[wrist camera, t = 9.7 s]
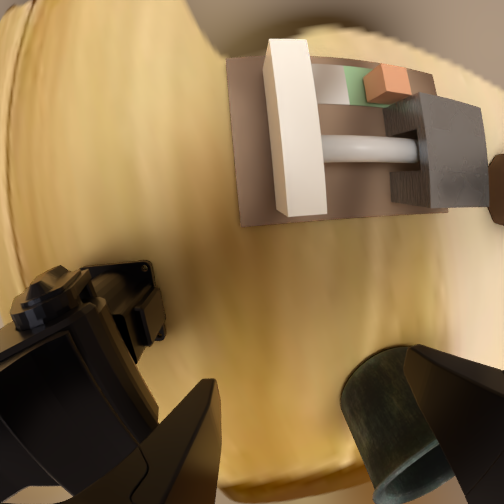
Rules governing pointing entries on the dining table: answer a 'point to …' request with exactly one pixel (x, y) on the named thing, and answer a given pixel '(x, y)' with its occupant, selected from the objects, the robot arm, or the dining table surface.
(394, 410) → the mug
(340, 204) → the base
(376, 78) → the peach cube
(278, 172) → the plunger
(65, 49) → the dining table surface
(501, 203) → the beer bottle
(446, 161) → the notched steel block
